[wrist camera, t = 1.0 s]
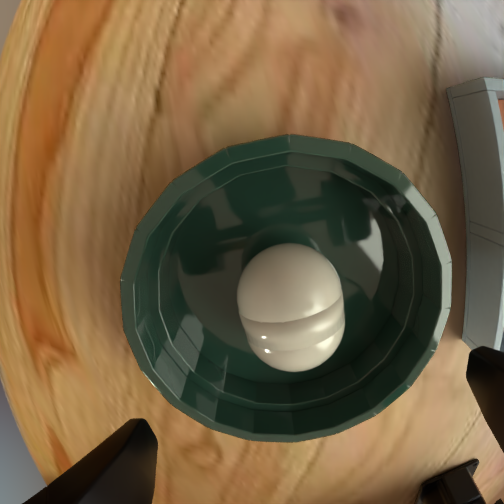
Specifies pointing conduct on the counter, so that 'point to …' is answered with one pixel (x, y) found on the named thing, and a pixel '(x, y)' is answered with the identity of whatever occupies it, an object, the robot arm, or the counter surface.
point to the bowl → (268, 234)
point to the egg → (291, 307)
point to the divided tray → (482, 205)
